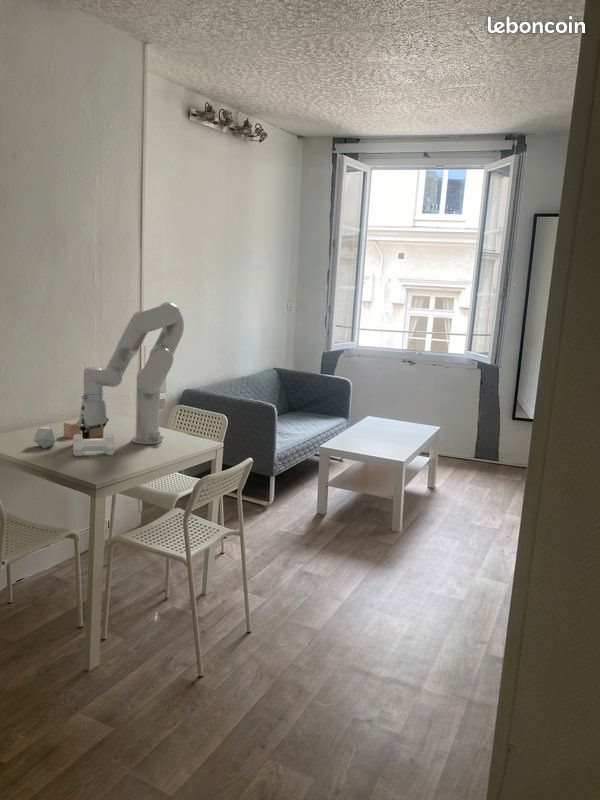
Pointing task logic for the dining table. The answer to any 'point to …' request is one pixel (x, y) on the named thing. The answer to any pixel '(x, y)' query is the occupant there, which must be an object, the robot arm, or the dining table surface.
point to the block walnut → (95, 432)
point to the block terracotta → (71, 429)
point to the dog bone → (93, 444)
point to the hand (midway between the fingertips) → (92, 439)
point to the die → (45, 437)
